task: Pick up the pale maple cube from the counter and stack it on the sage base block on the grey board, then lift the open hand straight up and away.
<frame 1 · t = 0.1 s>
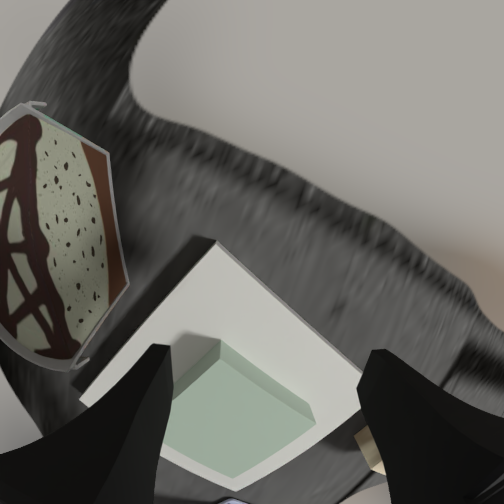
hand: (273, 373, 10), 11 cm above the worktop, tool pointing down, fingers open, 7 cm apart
maple cube: (383, 427, 24), on the worktop
food container: (81, 226, 18), on the worktop
base board: (226, 398, 21), on the worktop
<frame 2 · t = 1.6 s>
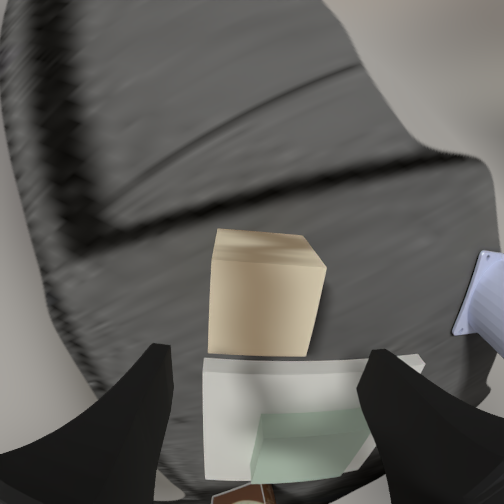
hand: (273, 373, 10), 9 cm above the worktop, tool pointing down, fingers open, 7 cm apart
maple cube: (256, 271, 18), on the worktop
food container: (251, 491, 29), on the worktop
base board: (301, 428, 24), on the worktop
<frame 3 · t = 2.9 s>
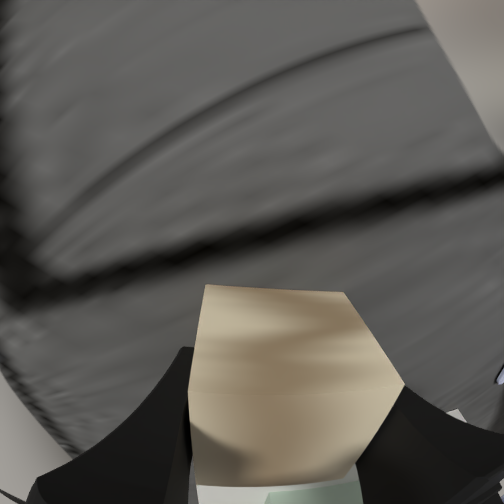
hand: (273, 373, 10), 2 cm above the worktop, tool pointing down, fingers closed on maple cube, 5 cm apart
maple cube: (268, 345, 11), on the worktop, touching gripper
base board: (314, 491, 17), on the worktop
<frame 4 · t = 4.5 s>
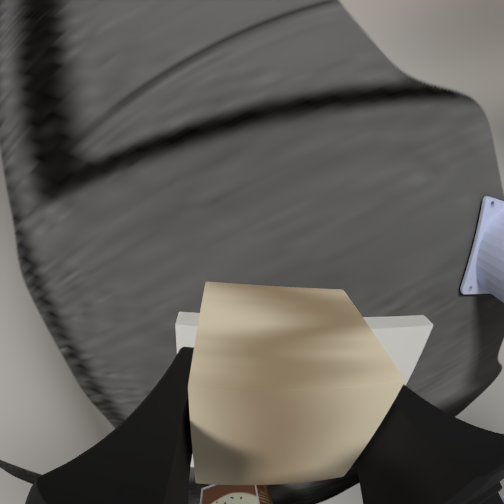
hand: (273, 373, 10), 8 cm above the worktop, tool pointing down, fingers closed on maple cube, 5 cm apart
maple cube: (268, 343, 11), point 7 cm above the worktop, touching gripper
food container: (244, 484, 27), on the worktop
base board: (295, 406, 22), on the worktop
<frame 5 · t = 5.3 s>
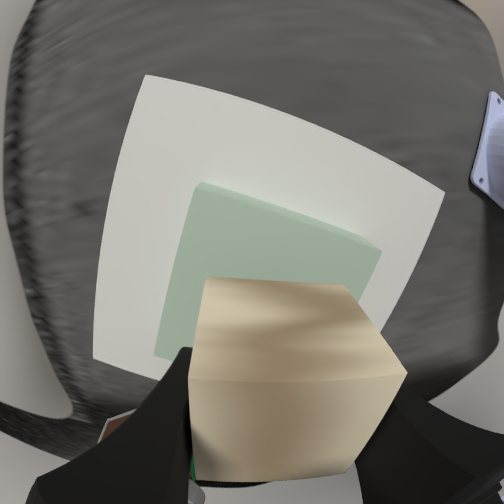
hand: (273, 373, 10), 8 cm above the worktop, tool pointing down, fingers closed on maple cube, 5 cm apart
maple cube: (269, 338, 11), point 7 cm above the worktop, touching gripper
food container: (162, 425, 22), on the worktop
base board: (256, 275, 17), on the worktop
when the fingers open (7 cm above the worktop, at t = 6.1 s): maple cube drops 1 cm, resting on base board.
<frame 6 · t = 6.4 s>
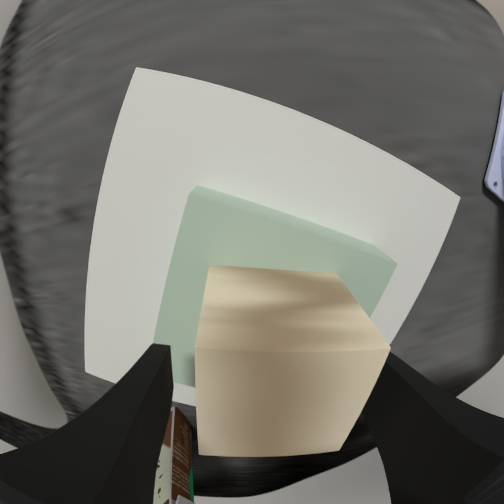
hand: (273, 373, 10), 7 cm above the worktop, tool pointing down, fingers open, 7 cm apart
maple cube: (267, 323, 12), point 4 cm above the worktop, touching base board
food container: (160, 437, 21), on the worktop
base board: (258, 286, 16), on the worktop
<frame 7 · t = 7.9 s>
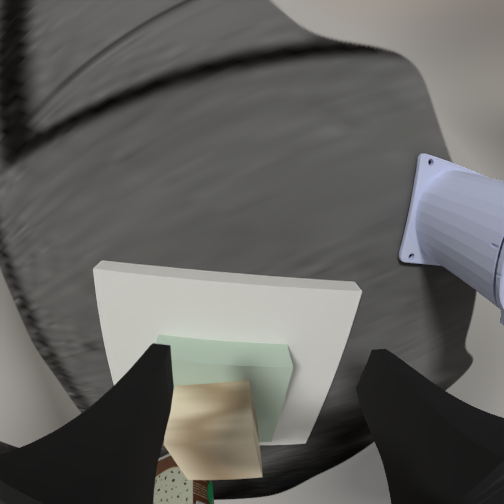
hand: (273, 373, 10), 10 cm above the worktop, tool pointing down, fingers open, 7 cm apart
maple cube: (218, 406, 19), point 4 cm above the worktop, touching base board
food container: (190, 461, 28), on the worktop
base board: (220, 372, 22), on the worktop
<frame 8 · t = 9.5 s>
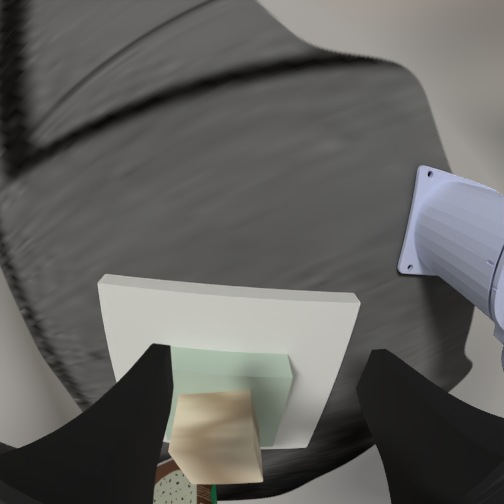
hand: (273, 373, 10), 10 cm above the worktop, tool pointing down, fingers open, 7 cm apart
maple cube: (221, 414, 19), point 4 cm above the worktop, touching base board
food container: (194, 464, 29), on the worktop
base board: (222, 380, 23), on the worktop
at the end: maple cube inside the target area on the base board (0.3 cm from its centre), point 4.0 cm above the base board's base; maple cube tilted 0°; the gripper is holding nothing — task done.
